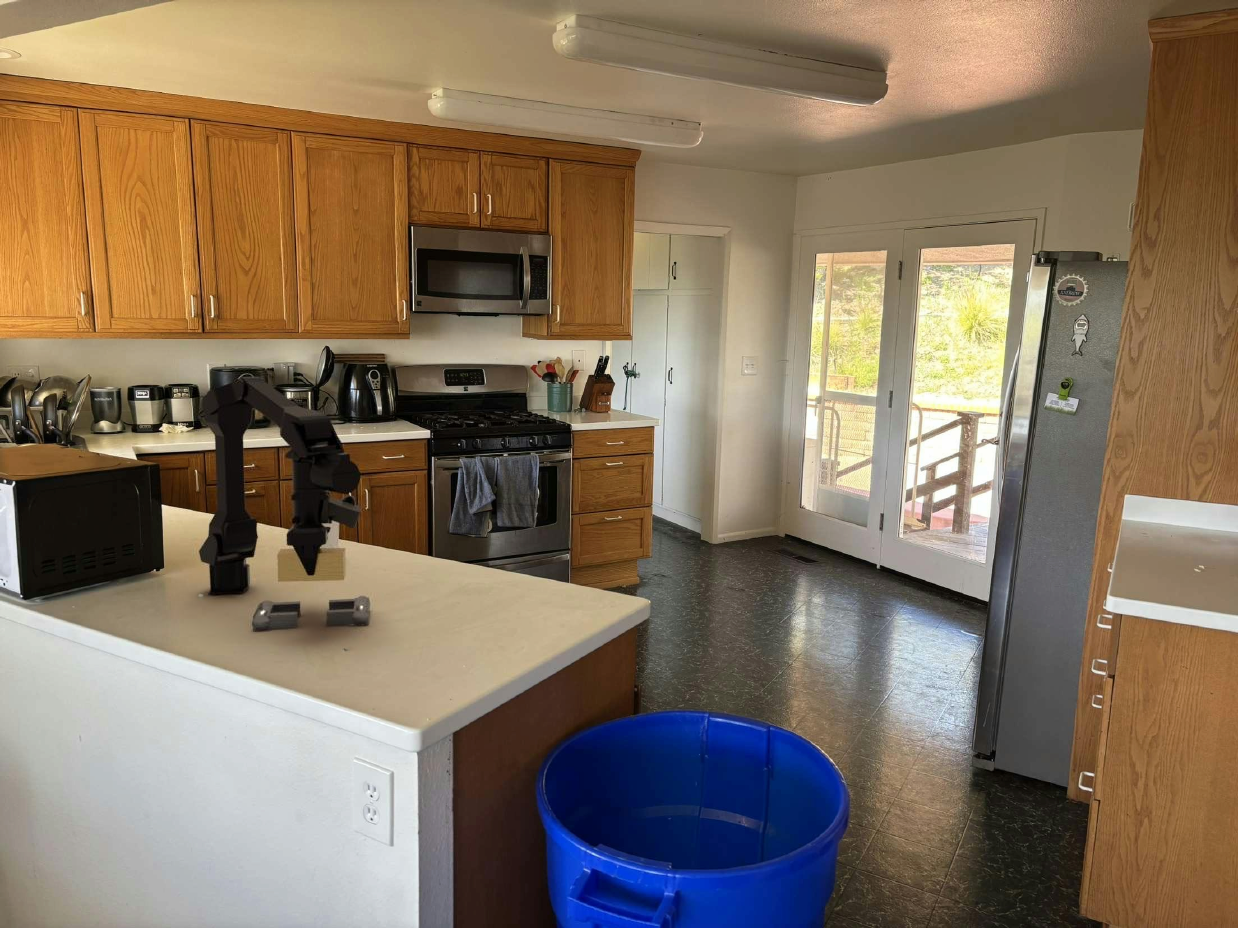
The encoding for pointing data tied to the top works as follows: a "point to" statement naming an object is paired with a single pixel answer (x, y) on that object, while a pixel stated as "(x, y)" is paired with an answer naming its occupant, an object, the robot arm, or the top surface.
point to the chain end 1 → (276, 615)
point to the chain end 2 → (348, 611)
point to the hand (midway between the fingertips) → (312, 572)
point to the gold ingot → (327, 566)
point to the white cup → (332, 535)
